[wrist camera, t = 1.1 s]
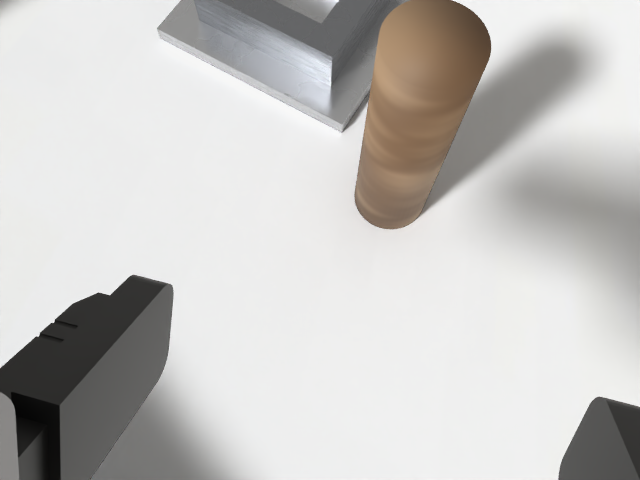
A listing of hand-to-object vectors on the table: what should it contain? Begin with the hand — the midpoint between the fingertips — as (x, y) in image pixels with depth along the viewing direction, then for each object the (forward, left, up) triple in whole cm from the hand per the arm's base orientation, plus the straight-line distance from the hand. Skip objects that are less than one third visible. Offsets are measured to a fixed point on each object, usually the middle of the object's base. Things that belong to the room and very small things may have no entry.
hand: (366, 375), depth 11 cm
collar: (-13, +19, -16) cm, 28 cm away
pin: (-3, +11, -16) cm, 20 cm away
